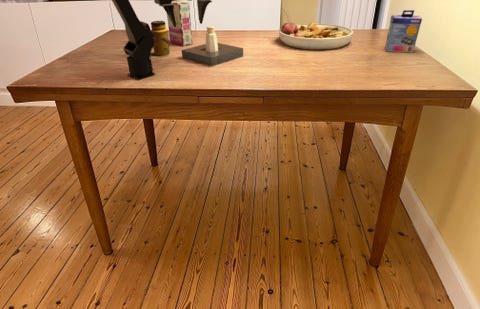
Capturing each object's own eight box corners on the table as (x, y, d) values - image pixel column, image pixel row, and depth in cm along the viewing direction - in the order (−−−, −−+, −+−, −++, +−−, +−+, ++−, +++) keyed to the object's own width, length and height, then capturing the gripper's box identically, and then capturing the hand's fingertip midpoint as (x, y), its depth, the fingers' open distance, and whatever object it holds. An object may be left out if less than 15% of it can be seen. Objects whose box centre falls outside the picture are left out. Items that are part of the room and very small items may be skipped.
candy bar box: (193, 44, 142) (189, 2, 133) (183, 46, 139) (179, 3, 131) (179, 40, 149) (174, 0, 141) (169, 42, 146) (164, 1, 138)
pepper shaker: (222, 58, 123) (220, 26, 117) (209, 60, 121) (207, 28, 115) (215, 54, 127) (213, 24, 121) (202, 57, 125) (200, 26, 119)
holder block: (212, 66, 114) (211, 57, 113) (182, 58, 124) (181, 50, 122) (243, 56, 124) (243, 48, 123) (213, 49, 134) (213, 41, 132)
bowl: (345, 34, 152) (347, 16, 148) (357, 52, 127) (361, 30, 123) (278, 34, 155) (279, 16, 151) (278, 51, 130) (279, 30, 126)
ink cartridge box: (386, 52, 125) (394, 10, 118) (383, 48, 130) (391, 8, 122) (414, 53, 124) (424, 10, 116) (411, 49, 128) (420, 8, 121)
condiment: (174, 55, 128) (170, 22, 122) (153, 58, 124) (147, 24, 118) (166, 51, 134) (162, 19, 127) (146, 54, 130) (140, 21, 123)
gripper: (161, -26, 92) (169, 33, 100) (221, -30, 100) (224, 25, 108) (149, -28, 100) (157, 27, 108) (206, -31, 108) (209, 20, 116)
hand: (188, 25), depth 110 cm, fingers open, 9 cm apart
